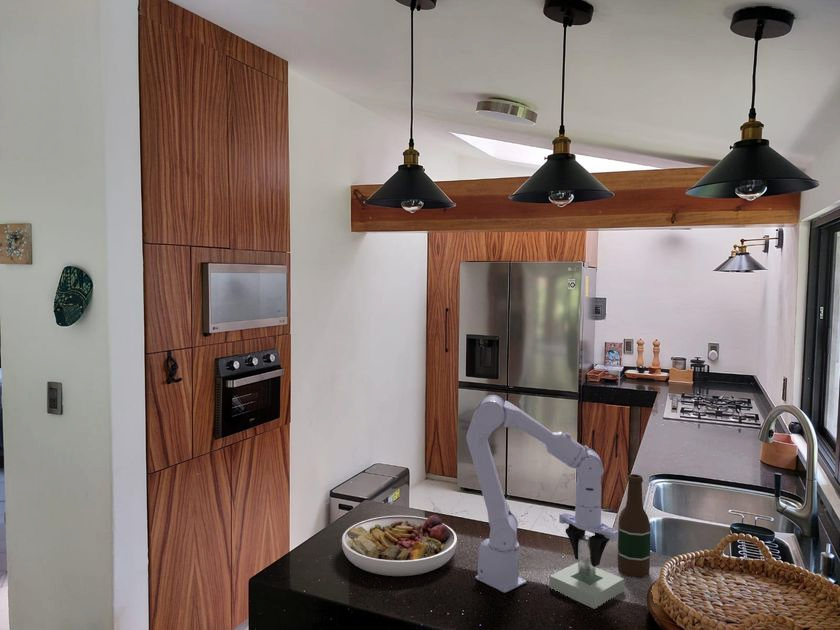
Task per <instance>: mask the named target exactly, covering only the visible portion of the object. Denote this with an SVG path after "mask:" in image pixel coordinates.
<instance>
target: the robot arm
mask: <svg viewBox="0 0 840 630" xmlns="http://www.w3.org/2000/svg"><path fill="white" fill-rule="evenodd" d="M502 424H503V428H513V427H514V428H515V427H516V428H519V429H520V430H521V431H523V432H525V433H527V434H528V435H530V436H531V437H532V438H534V439H536V440H538V441H540V442H541V443H543V444H545V447H546V452H547V453H548V454H550V455H551V456H553V457H554V458H556V459H558V460H559V462H562V463H564V464H565V465H566V466H568V467H570V468H571V469H575V470H576V483H575V510H574V511H575V514H571V513H570V514H569V513H566V512H563V513H561V514H559V516H558V517H559V524H563V525H564V524H566V525H568V527H566V528H565V534H566V535H567V537H568V539H569V541H570V544H571V547H572V551H573V555H574V559H575V560H577V561H578V537H579V536H581V535H586V532H589V533H592V534H594V535H590V536H591V537H589V541H590V545H591V551H592V566H594V567H596V568H597V566H599V565H600V564H601V560H602V556H603V554H604V551H605V549H606V546H607V545H608V542H609V541H611V542H615V541H618V529H617V530H616V529H614V528H613V527H611V526H609V525H607V524H605V523H603V522H602V488H603V487H602V476H603V474H604V471H605V468H604V466H603V463H602V460H601V457H600V455H599V454H598V453H597V452H595V450H594V449H593V448H589V446H587V445H586V444H585V445H582V444H581V443H579V442H578V441H576V440H575V439H573V438H572V434H571V433H569V432H565V433H564V432H563V431H555V432H554V431H551V430H550V429H548V428H547V427H546V426H544V425H543V424H541V423H540V422H539V421H537V420H536V419H534V418H533V417H532V416H530V415H529V414H528V413H526V412H525V411H523V410H522V409H521V408H519V407H518V406H516V405H515V404H513V403H511V402H510V401H508V400H505V401H504V399H503V398H502V397H501V396H499V395H497V394H489V395H487V396H484V397H483V398H482V400H481V401H480V402H479V404H478V405H477V406H476V408H475V410H474V413H473V414H472V418H471V421H470V423H469V426H468V429H467V434H466V436H465V437H466V439H465V440H466V443H467V446H468V450H469V453H470V456H471V460H472V463H473V467H474V470H475V473H476V476H477V480H478V483H479V487H480V490H481V493H482V496H483V500H484V503H485V507H486V511H487V518H488V519H487V520H488V525H489V529H490V530H489V531H490V532H489V535H488V536H489V537H488V538H485V539H484V540H483V541H482V542H481V544H480V545H479V548H478V553H477V575H475V579H476V580H477V581H480V582H482V583H484V584H486V585H487V586H490V587H492V588H494V589H497V590H499V591H500V592H502V593H507V592H510V591H512V590H514V589H516V588H518V587H520V586H522V585H524V584H527V580H526V579H524V578H522V577H520V576H519V575H520V574H519V570H520V566H519V564H520V559H519V558H520V543H519V541H518V536H517V532H518V527H519V523H518V519H517V517H516V516H515V514H513V513H512V510H510V506H509V504H508V502H507V500H506V498H505V494H504V490H503V487H502V484H501V481H500V478H499V474H498V470H497V467H496V464H495V460H494V457H493V453H492V450H491V446H490V443H489V441H488V439H489V437H490V436H491V434H492V433H493V431H495V430H496V429H497V428H499V426H500V425H502Z"/></svg>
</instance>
